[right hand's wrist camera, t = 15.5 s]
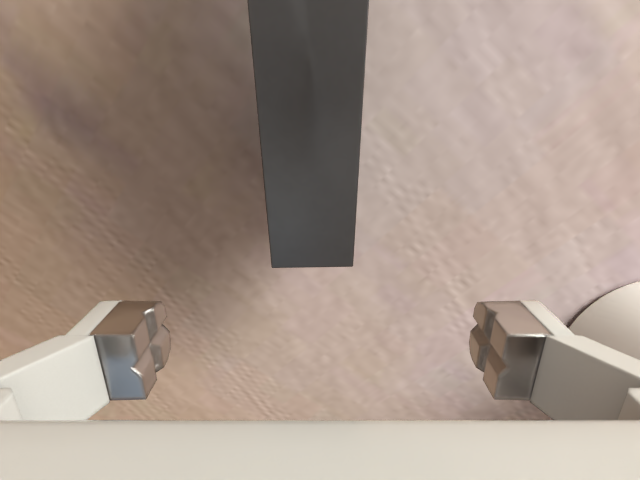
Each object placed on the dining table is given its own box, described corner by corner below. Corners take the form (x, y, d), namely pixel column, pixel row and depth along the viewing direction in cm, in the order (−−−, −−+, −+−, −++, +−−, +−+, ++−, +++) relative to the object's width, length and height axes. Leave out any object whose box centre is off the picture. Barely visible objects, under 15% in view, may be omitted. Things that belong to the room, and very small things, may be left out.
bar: (341, 192, 31) (353, 266, 23) (280, 193, 31) (271, 268, 23) (358, -287, 17) (398, -491, 10) (249, -288, 17) (202, -496, 10)
